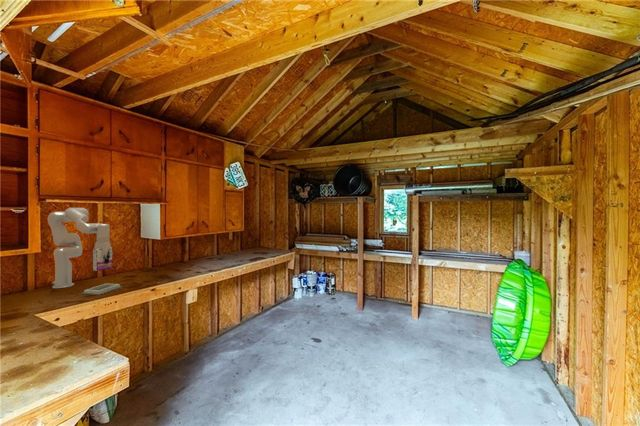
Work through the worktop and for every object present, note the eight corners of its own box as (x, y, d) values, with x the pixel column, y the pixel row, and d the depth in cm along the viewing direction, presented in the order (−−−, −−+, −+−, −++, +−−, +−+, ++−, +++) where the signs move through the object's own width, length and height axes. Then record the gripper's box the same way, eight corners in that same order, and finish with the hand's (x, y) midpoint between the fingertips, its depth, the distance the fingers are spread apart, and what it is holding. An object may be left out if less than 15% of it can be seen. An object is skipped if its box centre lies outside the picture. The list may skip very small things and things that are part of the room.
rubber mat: (80, 294, 191) (80, 293, 191) (104, 286, 211) (104, 285, 211) (100, 295, 190) (100, 294, 190) (123, 287, 210) (123, 286, 210)
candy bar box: (108, 267, 206) (108, 246, 206) (112, 268, 205) (113, 247, 205) (92, 270, 196) (92, 248, 196) (96, 271, 194) (96, 249, 194)
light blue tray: (83, 293, 192) (83, 290, 192) (105, 285, 210) (106, 283, 210) (98, 293, 191) (98, 291, 191) (119, 286, 209) (119, 284, 209)
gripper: (88, 240, 197) (87, 263, 197) (109, 240, 196) (108, 264, 196) (97, 239, 204) (97, 261, 205) (117, 239, 203) (117, 262, 203)
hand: (102, 263), depth 200 cm, fingers closed on candy bar box, 5 cm apart
